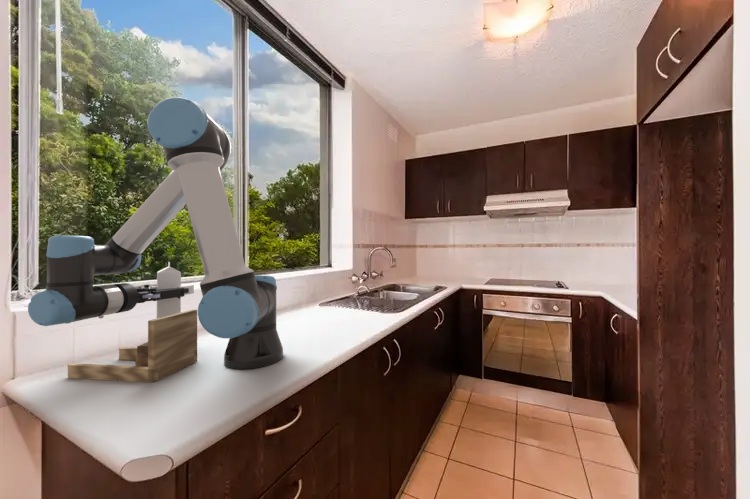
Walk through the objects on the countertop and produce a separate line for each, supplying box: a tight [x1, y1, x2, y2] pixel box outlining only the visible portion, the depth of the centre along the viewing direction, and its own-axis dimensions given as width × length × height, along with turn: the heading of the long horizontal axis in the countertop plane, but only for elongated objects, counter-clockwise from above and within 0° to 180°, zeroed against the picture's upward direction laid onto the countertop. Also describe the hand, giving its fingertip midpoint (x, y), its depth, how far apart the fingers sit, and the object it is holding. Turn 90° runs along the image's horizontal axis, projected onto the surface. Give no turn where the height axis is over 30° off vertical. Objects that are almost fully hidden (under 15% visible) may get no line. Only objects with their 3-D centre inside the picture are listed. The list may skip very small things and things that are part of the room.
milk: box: [156, 261, 182, 319], centre depth 96 cm, size 6×6×22 cm
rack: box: [67, 309, 198, 383], centre depth 79 cm, size 23×14×14 cm, turn 82°
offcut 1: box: [136, 341, 148, 357], centre depth 77 cm, size 5×6×2 cm
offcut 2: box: [135, 357, 148, 367], centre depth 77 cm, size 5×7×2 cm
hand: (180, 288), depth 101 cm, fingers closed on milk, 8 cm apart
